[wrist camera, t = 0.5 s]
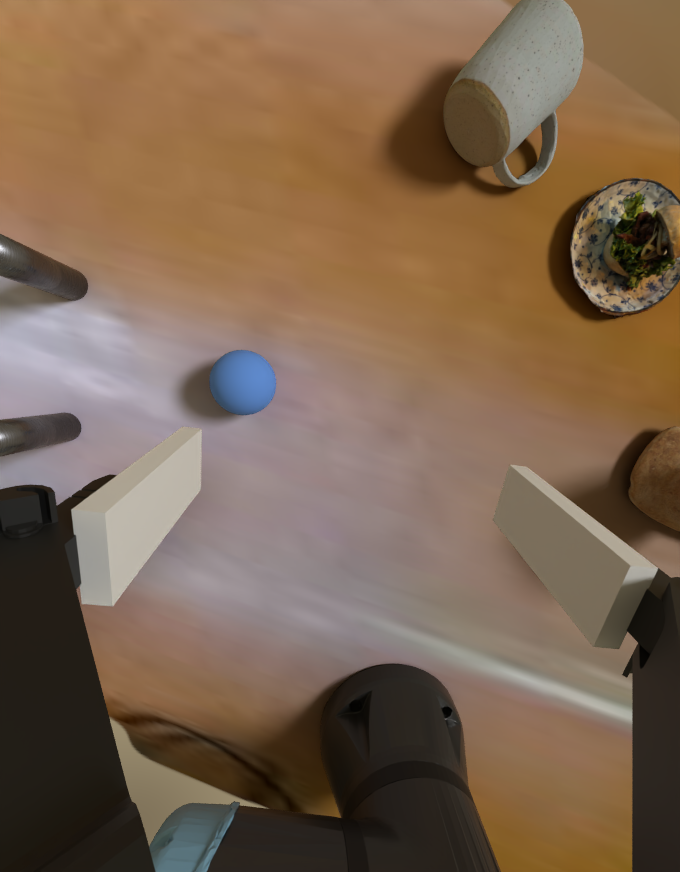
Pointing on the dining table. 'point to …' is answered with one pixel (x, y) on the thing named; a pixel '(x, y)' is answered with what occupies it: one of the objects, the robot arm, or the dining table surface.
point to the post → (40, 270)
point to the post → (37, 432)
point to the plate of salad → (627, 246)
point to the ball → (242, 382)
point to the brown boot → (659, 479)
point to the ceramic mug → (515, 87)
